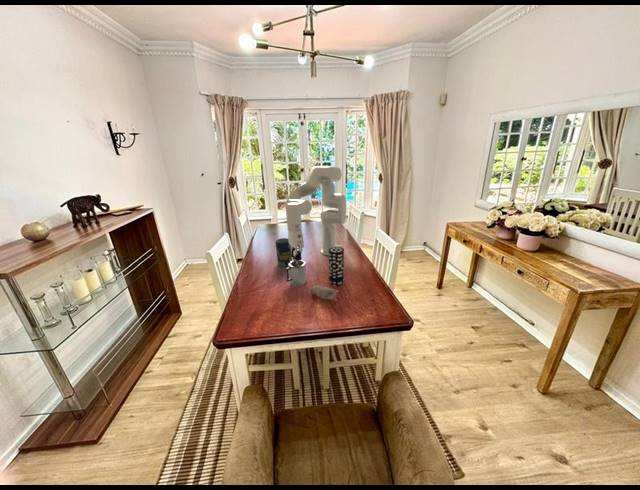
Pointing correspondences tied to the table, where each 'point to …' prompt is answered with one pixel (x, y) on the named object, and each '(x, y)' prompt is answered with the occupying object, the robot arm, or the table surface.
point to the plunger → (295, 257)
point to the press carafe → (296, 273)
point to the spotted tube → (336, 266)
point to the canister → (283, 252)
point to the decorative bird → (325, 292)
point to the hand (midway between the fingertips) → (296, 258)
